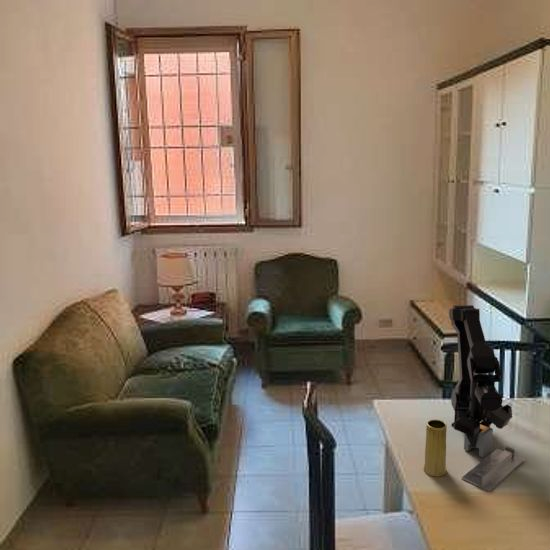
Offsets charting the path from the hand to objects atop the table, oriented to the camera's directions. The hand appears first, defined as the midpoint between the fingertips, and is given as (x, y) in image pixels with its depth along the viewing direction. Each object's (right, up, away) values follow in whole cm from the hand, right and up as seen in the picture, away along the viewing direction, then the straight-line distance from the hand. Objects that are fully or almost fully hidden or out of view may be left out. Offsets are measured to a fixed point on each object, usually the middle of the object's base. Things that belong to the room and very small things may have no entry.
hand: (477, 443), depth 165 cm
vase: (-15, -5, -8) cm, 18 cm away
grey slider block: (0, -2, +1) cm, 2 cm away
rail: (+1, -5, -9) cm, 10 cm away
